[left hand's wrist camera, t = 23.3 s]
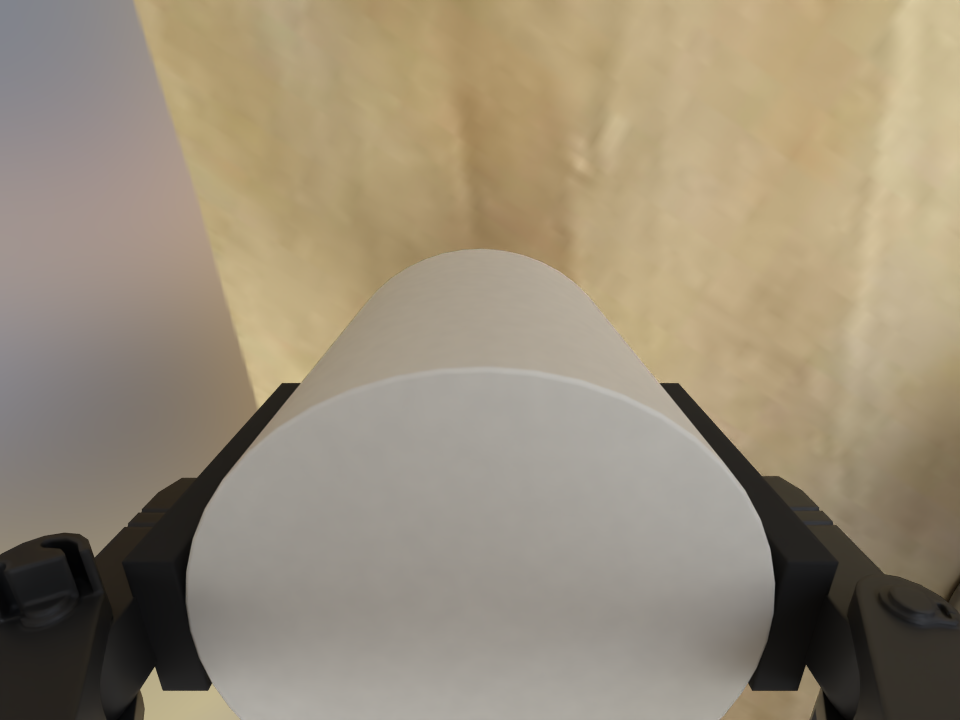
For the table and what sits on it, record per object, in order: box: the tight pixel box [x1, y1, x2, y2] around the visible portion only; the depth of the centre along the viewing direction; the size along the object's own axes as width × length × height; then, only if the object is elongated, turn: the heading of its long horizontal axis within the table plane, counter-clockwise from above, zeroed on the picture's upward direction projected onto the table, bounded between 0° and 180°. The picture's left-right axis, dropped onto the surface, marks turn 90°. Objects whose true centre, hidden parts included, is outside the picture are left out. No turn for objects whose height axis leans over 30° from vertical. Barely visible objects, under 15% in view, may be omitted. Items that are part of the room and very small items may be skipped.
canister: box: [186, 249, 775, 720], centre depth 12 cm, size 9×9×9 cm
